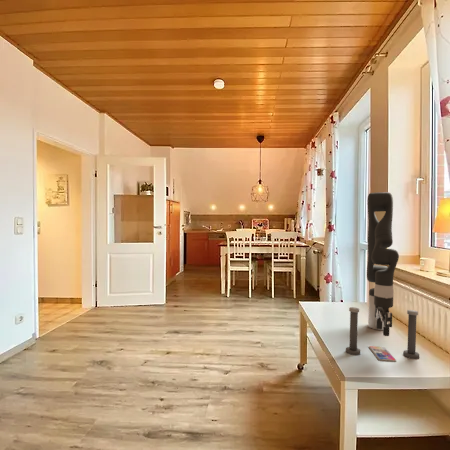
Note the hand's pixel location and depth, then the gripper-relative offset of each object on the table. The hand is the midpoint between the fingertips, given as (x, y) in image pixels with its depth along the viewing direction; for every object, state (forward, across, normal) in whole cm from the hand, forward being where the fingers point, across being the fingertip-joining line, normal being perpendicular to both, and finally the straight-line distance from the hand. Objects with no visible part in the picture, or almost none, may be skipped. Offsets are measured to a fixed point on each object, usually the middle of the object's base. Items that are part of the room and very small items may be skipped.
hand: (382, 332), depth 146 cm
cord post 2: (+10, 0, +12) cm, 15 cm away
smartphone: (+10, 0, 0) cm, 10 cm away
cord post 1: (+9, 0, -12) cm, 15 cm away
